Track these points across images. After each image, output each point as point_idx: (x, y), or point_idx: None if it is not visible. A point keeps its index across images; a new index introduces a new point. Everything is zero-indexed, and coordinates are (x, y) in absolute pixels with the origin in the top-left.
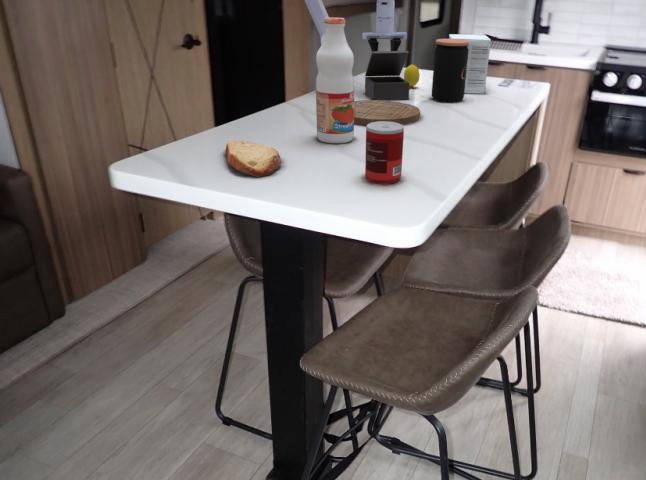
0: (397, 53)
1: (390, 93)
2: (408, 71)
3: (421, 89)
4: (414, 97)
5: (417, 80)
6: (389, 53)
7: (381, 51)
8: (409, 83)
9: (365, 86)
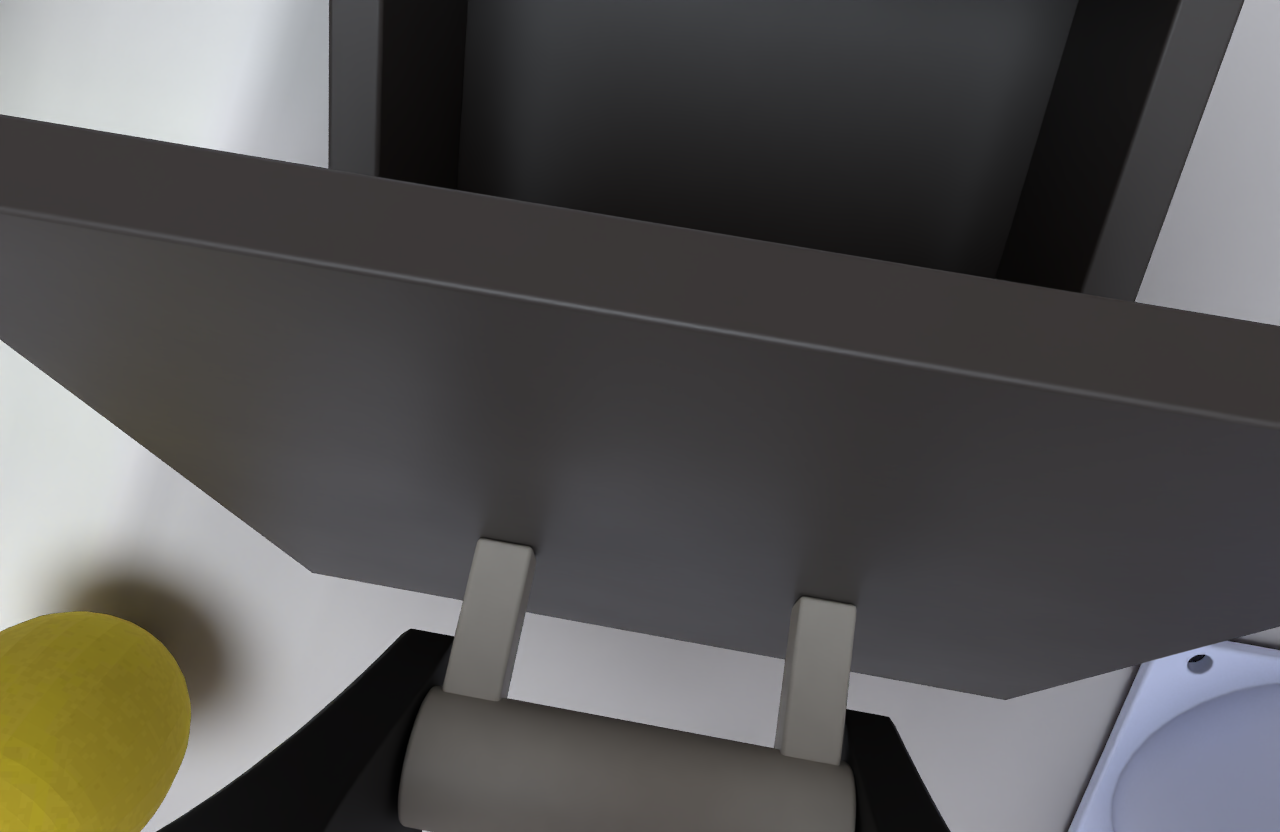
0: (379, 198)
1: None
2: (68, 770)
3: (23, 514)
4: (277, 5)
5: (3, 630)
6: (787, 251)
7: (1211, 399)
8: (147, 637)
9: None
